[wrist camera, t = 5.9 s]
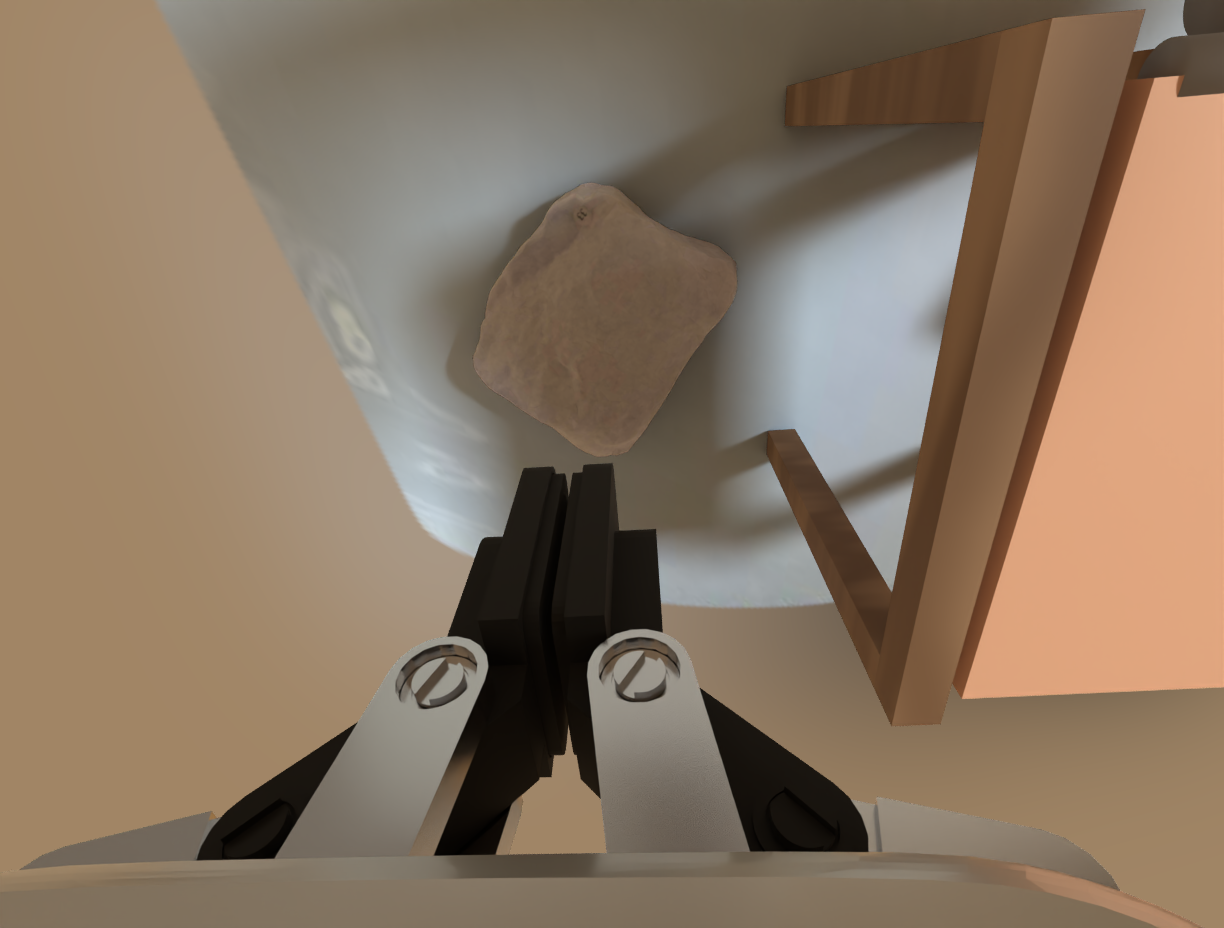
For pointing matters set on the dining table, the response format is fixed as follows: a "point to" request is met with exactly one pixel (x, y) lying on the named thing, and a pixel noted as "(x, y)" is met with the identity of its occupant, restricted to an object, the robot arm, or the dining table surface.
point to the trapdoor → (1125, 419)
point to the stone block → (600, 318)
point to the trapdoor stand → (967, 322)
